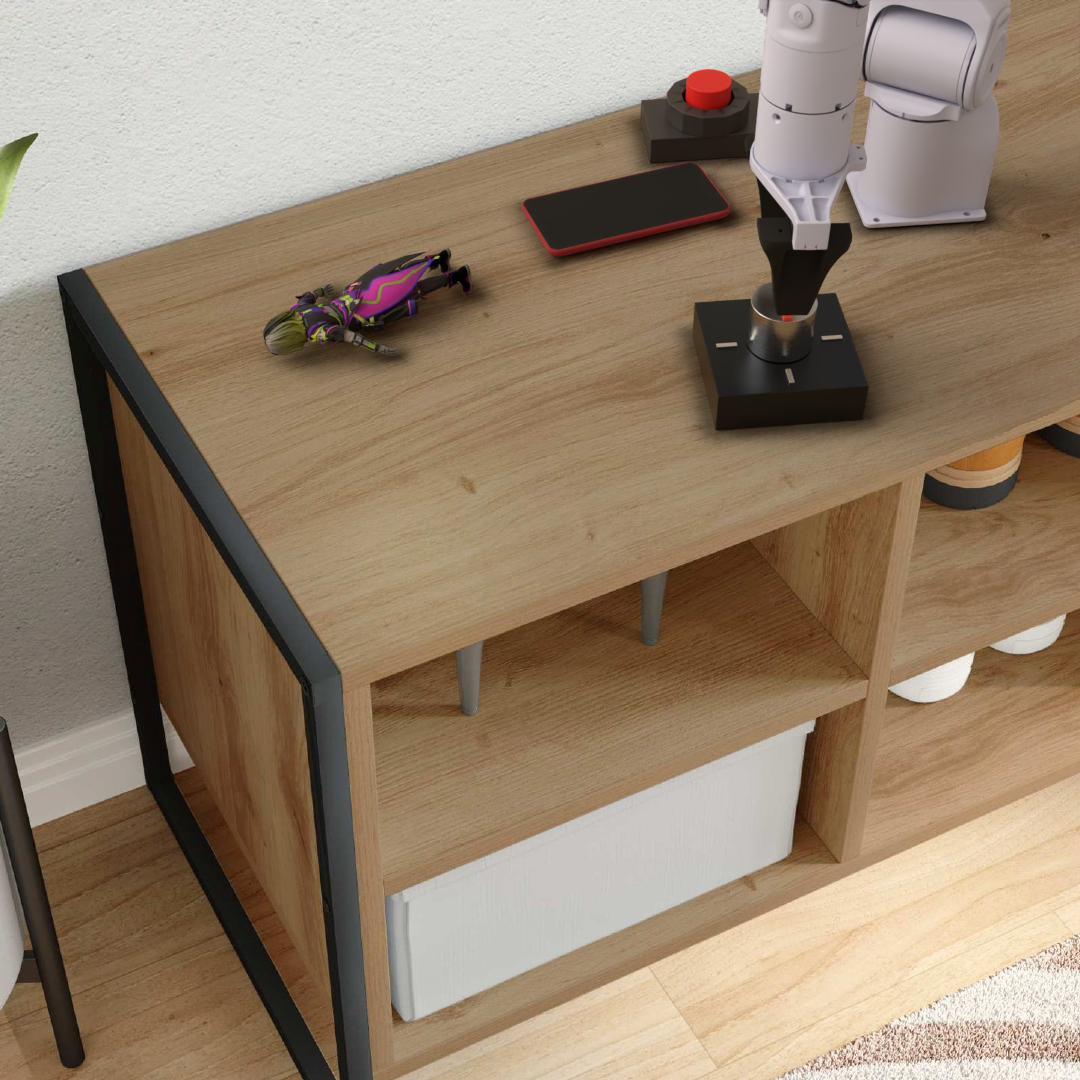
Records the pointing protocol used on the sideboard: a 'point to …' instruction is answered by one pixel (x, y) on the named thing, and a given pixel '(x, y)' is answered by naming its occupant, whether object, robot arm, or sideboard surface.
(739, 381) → the dimmer panel
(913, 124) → the robot arm
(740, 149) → the light switch
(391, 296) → the character figure
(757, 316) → the dimmer knob
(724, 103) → the light button
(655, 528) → the sideboard surface
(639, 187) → the smartphone
